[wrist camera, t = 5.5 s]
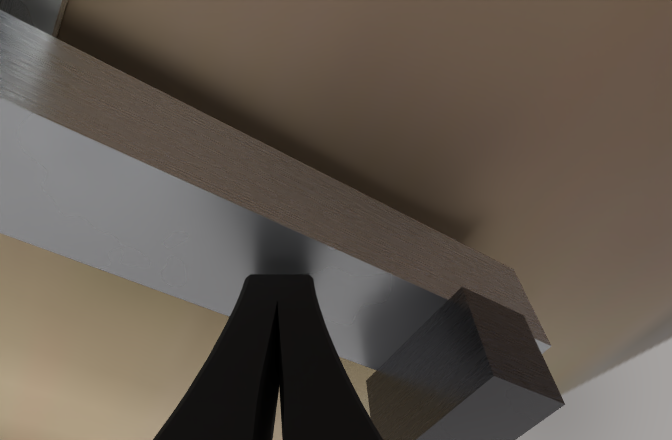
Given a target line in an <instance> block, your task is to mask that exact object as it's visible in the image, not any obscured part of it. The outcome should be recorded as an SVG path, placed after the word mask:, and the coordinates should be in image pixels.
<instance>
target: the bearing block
mask: <svg viewBox="0 0 672 440" xmlns="http://www.w3.org/2000/svg"><path fill="white" fill-rule="evenodd" d="M67 2H68V0H0V10H2V11H4V12H6V13H8V14H10V15H12V16H14V17H16V18H17V19H19V20H21V21H23V22H25V23H27V24H29V25H31V26H33V27H35V28H37V29H39V30H41V31H43V32H45V33H47V34H49V35H51V36H53V37H55V38H56V37H57V34H58V31H59V28H60V25H61V21H62V18H63V15H64V12H65V8H66V5H67Z"/></svg>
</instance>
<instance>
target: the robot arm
mask: <svg viewBox="0 0 672 440" xmlns="http://www.w3.org/2000/svg"><path fill="white" fill-rule="evenodd" d="M279 386H280V403H281V420H282V437H283V440H383V439H382V437H381V435H380V434H379V432H378V430H377V429H376V427H375V425H374V424H373V422H372V420H371V419H370V417H369V415H368V413H367V412H366V410H365V408H364V406H363V404H362V403H361V401H360V399H359V397H358V395H357V393H356V391H355V389H354V387H353V385H352V383H351V381H350V379H349V377H348V375H347V373H346V371H345V369H344V367H343V365H342V363H341V361H340V358H339V356H338V354H337V351H336V349H335V347H334V344H333V342H332V339H331V337H330V335H329V332H328V329H327V327H326V324H325V321H324V318H323V315H322V312H321V309H320V306H319V303H318V299H317V295H316V291H315V286H314V279H313V278H312V277H311V276H310V275H309V274H250V275H249V276H248V277H246V278H245V281H244V284H243V287H242V290H241V292H240V295H239V297H238V300H237V302H236V304H235V307H234V309H233V311H232V313H231V315H230V317H229V319H228V321H227V323H226V325H225V327H224V329H223V331H222V333H221V335H220V337H219V338H218V340H217V342H216V344H215V346H214V348H213V350H212V351H211V353H210V355H209V357H208V358H207V360H206V362H205V363H204V365H203V367H202V368H201V370H200V371H199V373H198V375H197V376H196V378H195V379H194V381H193V383H192V384H191V386H190V388H189V389H188V391H187V392H186V394H185V395H184V397H183V398H182V400H181V401H180V403H179V404H178V406H177V407H176V409H175V410H174V411H173V413H172V414H171V416H170V417H169V419H168V420H167V421H166V423H165V424H164V425H163V427H162V428H161V429H160V431H159V432H158V434H157V435H156V436H155V438H154V439H153V440H272V438H273V431H274V423H275V415H276V407H277V400H278V392H279Z"/></svg>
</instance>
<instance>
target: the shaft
mask: <svg viewBox="0 0 672 440" xmlns="http://www.w3.org/2000/svg"><path fill="white" fill-rule="evenodd" d="M0 233H2V234H4V235H7V236H10V237H13V238H15V239H18V240H21V241H24V242H26V243H29V244H32V245H35V246H37V247H40V248H43V249H46V250H48V251H51V252H54V253H57V254H59V255H62V256H65V257H68V258H70V259H73V260H76V261H78V262H81V263H84V264H87V265H89V266H92V267H95V268H98V269H100V270H103V271H106V272H109V273H111V274H114V275H117V276H120V277H122V278H125V279H128V280H131V281H133V282H136V283H139V284H142V285H144V286H147V287H150V288H152V289H155V290H158V291H161V292H163V293H166V294H169V295H172V296H174V297H177V298H180V299H183V300H185V301H188V302H191V303H194V304H196V305H199V306H202V307H205V308H207V309H210V310H213V311H216V312H218V313H221V314H224V315H226V316H229V317H230V315H231V313H232V311H233V309H234V307H235V304H236V302H237V300H238V297H239V295H240V292H241V290H242V287H243V284H244V281H245V278H246V277H248V276H249V275H250V274H309V275H310V276H311V277H312V278H313V279H314V286H315V291H316V295H317V299H318V303H319V306H320V309H321V312H322V315H323V318H324V321H325V324H326V327H327V329H328V332H329V335H330V337H331V339H332V342H333V344H334V347H335V349H336V351H337V354H338V356H339V357H342V358H344V359H347V360H350V361H353V362H355V363H358V364H361V365H364V366H366V367H369V368H372V369H374V370H377V371H376V372H375V373H374V374H373V375H372V376H371V377H369V378H368V379H367V380H366V383H367V391H368V399H369V408H370V416H371V420H372V422H373V424H374V425H375V427H376V429H377V430H378V432H379V434H380V435H381V437H382V439H383V440H515V439H517V438H518V437H520V436H521V435H523V434H524V433H525V432H527V431H528V430H530V429H531V428H532V427H534V426H535V425H537V424H538V423H539V422H541V421H542V420H544V419H545V418H546V417H548V416H549V415H551V414H552V413H553V412H555V411H556V410H558V409H559V408H561V407H562V406H563V405H565V403H564V401H563V399H562V397H561V395H560V392H559V390H558V388H557V386H556V384H555V382H554V380H553V377H552V375H551V373H550V371H549V369H548V367H547V364H546V362H545V360H544V358H543V356H542V353H543V352H545V351H546V350H547V349H548V348H550V347H551V344H550V342H549V340H548V338H547V336H546V334H545V332H544V330H543V328H542V326H541V324H540V322H539V320H538V318H537V316H536V314H535V312H534V310H533V308H532V306H531V304H530V302H529V300H528V298H527V296H526V294H525V292H524V290H523V288H522V285H521V283H520V281H519V279H518V277H517V275H516V273H515V271H514V269H512V268H510V267H508V266H506V265H504V264H502V263H500V262H498V261H496V260H494V259H492V258H490V257H488V256H486V255H484V254H482V253H480V252H478V251H476V250H474V249H472V248H470V247H468V246H466V245H464V244H462V243H460V242H458V241H456V240H454V239H452V238H450V237H448V236H446V235H444V234H443V233H441V232H439V231H437V230H435V229H433V228H431V227H429V226H427V225H425V224H423V223H421V222H419V221H417V220H415V219H413V218H411V217H409V216H407V215H405V214H403V213H401V212H399V211H397V210H395V209H393V208H391V207H389V206H387V205H385V204H383V203H381V202H379V201H377V200H375V199H373V198H371V197H369V196H367V195H365V194H363V193H361V192H359V191H358V190H356V189H354V188H352V187H350V186H348V185H346V184H344V183H342V182H340V181H338V180H336V179H334V178H332V177H330V176H328V175H326V174H324V173H322V172H320V171H318V170H316V169H314V168H312V167H310V166H308V165H306V164H304V163H302V162H300V161H298V160H296V159H294V158H292V157H290V156H288V155H286V154H284V153H282V152H280V151H278V150H276V149H274V148H272V147H271V146H269V145H267V144H265V143H263V142H261V141H259V140H257V139H255V138H253V137H251V136H249V135H247V134H245V133H243V132H241V131H239V130H237V129H235V128H233V127H231V126H229V125H227V124H225V123H223V122H221V121H219V120H217V119H215V118H213V117H211V116H209V115H207V114H205V113H203V112H201V111H199V110H197V109H195V108H193V107H191V106H189V105H187V104H186V103H184V102H182V101H180V100H178V99H176V98H174V97H172V96H170V95H168V94H166V93H164V92H162V91H160V90H158V89H156V88H154V87H152V86H150V85H148V84H146V83H144V82H142V81H140V80H138V79H136V78H134V77H132V76H130V75H128V74H126V73H124V72H122V71H120V70H118V69H116V68H114V67H112V66H110V65H108V64H106V63H104V62H102V61H101V60H99V59H97V58H95V57H93V56H91V55H89V54H87V53H85V52H83V51H81V50H79V49H77V48H75V47H73V46H71V45H69V44H67V43H65V42H63V41H61V40H59V39H57V38H55V37H53V36H51V35H49V34H47V33H45V32H43V31H41V30H39V29H37V28H35V27H33V26H31V25H29V24H27V23H25V22H23V21H21V20H19V19H17V18H16V17H14V16H12V15H10V14H8V13H6V12H4V11H2V10H0Z"/></svg>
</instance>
